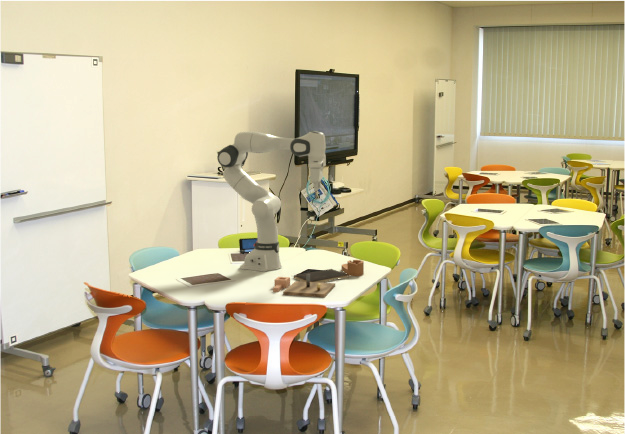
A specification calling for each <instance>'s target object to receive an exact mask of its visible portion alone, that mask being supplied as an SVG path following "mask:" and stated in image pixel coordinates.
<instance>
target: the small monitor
mask: <svg viewBox="0 0 625 434" xmlns="http://www.w3.org/2000/svg"><path fill="white" fill-rule="evenodd" d="M257 241H258V239H257V237H250V238H249V237H247V238H239V239H238V245H239V252H240V254H241V253H248V254H249V252H251V251H252V250H254V249H255V247H254V245H253V244H254V243H256V242H257Z"/></svg>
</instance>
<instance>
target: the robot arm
mask: <svg viewBox="0 0 625 434" xmlns="http://www.w3.org/2000/svg"><path fill="white" fill-rule="evenodd" d="M326 146H327V145H326V135H325V133H324V132H321V131H318V130H317V131H316V130H311V131H308V132H307V133H306V134H304V135H302V136H299V137H296V138H294V137H292V138H291V137H282V136H277V135H273V134H269V133H265V132H259V131H240V132H238V133H237V134H236V135H235V137H234V142H233V144H228V145H227V146H225V147H222V149H220V150H219V152H218V153H217V162H218V164H219V165H220V166H222V167H224V170H223V172H222V177H223V178H224V180H225V181H226V182H227V184H228V185H229V187H231V189H233V190H234V191H235V192H236V193H237V194H238V195H239V196H240V197H241V198H243V200H245V201H247V202H249V203H251V204H252V206H251V212H252V214H253V217H254V219H255V220H254V221H255V224H256V230H257V231H256V233H257V237H256V238H257V239H258V241H257V242H256V243H254V244H253V245H254V247H255V249H254V250H252V251H251V252H250V253H248V254H245V257H244V261H243V263H242V264H241V265H240V266H239V269H241V270H249V271H255V272H256V271H258V272H267V271H273V270H274V271H275V270H278V269H281V268H282V267H283V266H282V264H281V259H280V253H279V252H280V242H279V232H278V231H279V230H278V229H279V228H278V226H277V223H276V219H275V214H277V213H278V212H279V211H280V209H281V206H282V201H281V199H280V198H279V197H278V196H277V195H275V194H273V193H272V192H271V191H269V190H268V189H266V188H265V187H263V186H261V185H260V184H259V183H258V182H256V181H255V179H254V178H252V177H251V175H249V174H248V173H247V172H245V170H244V169H243V167H244V166H245V163H246V160H247V159H248V156H249V153H253V154H266V153H271V152H274V151H280V150H281V151H282V150H285V151H290V152H291V153H292V155H294V156H297V157H305V156H307V157H308V168H309V171H310V172H309V173H310V181H311V182H310V183H312V184H313V189H314V191H315V192H318V191H319V189H321V182H322V181H321V180H322V179H323V178H324V174H323V173H324V167H326V166H327V164H326V163H327V159H326V158H327V156H326V149H327V147H326Z"/></svg>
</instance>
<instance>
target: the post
mask: <svg viewBox="0 0 625 434" xmlns="http://www.w3.org/2000/svg"><path fill="white" fill-rule="evenodd" d="M306 287H310V274H306Z"/></svg>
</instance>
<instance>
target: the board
mask: <svg viewBox="0 0 625 434" xmlns="http://www.w3.org/2000/svg"><path fill="white" fill-rule="evenodd" d="M318 283H320V290H319V291H318V290H317V284H318ZM335 287H336V283H335V282H333V283H332V282H323V283H321V282H310V287H306V282H304V281H300V280H295V281H294V282H293V283H292V284H290V286H289V287H288V288H285V289H284V290H283V291H282V295H283V296H284V295H285V296H294V297H295V296H296V297H297V296H298V297H310V298H311V297H313V298H326V296H327V295H328V294H329V293H331V292H332V290H333V289H334V288H335Z"/></svg>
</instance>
